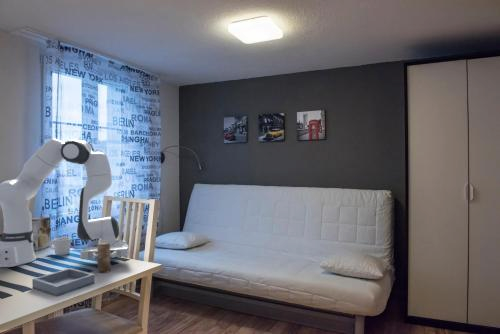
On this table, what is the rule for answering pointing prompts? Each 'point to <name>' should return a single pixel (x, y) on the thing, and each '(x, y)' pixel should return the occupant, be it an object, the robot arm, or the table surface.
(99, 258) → the walnut cylinder
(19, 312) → the table surface
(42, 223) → the coffee box
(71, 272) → the box
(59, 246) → the cup
